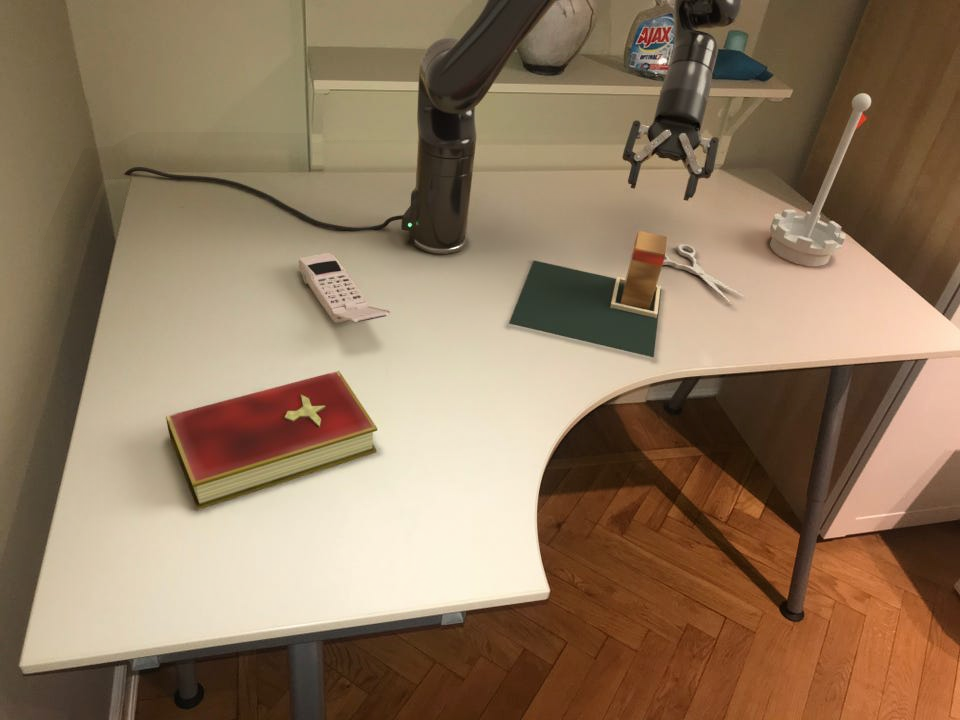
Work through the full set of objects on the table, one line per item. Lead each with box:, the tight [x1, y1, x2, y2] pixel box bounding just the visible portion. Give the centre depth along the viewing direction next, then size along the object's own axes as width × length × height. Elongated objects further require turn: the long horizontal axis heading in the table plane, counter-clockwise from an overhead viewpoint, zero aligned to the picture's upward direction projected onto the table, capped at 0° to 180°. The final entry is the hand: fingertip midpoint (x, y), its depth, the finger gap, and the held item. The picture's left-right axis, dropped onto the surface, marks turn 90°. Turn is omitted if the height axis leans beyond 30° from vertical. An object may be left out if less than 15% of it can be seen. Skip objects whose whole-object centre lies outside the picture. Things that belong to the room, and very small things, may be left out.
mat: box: [508, 260, 662, 358], centre depth 121 cm, size 22×20×1 cm
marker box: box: [620, 230, 668, 310], centre depth 121 cm, size 5×6×10 cm
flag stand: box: [769, 92, 872, 267], centre depth 136 cm, size 13×13×30 cm
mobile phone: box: [298, 252, 391, 324], centre depth 113 cm, size 6×6×25 cm
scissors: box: [662, 243, 748, 305], centre depth 133 cm, size 11×1×20 cm
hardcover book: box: [165, 370, 378, 511], centre depth 89 cm, size 12×21×4 cm, turn 121°
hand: (659, 192), depth 121 cm, fingers open, 8 cm apart
